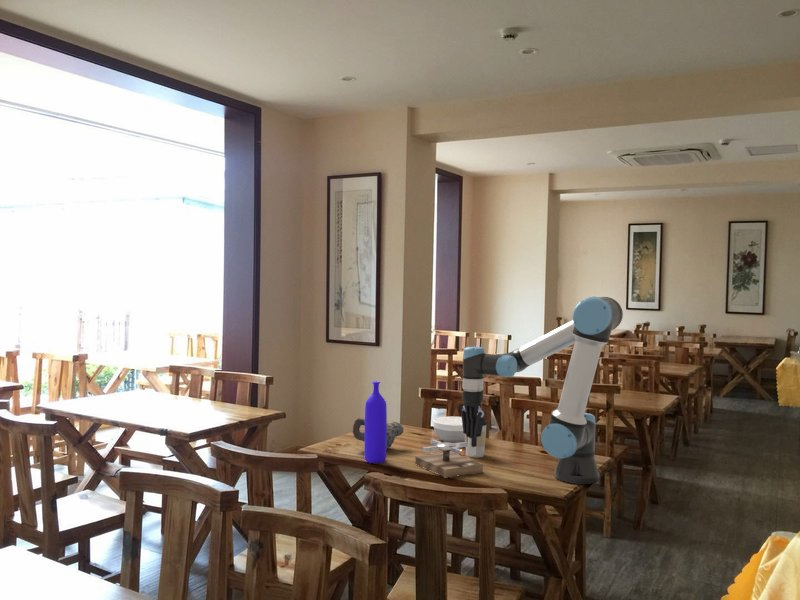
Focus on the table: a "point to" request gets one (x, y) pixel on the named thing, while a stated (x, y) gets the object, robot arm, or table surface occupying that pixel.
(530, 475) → the table surface
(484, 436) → the coffee cup
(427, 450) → the capstan
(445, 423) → the bowl
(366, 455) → the bottle
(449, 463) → the level stand
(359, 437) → the teapot
